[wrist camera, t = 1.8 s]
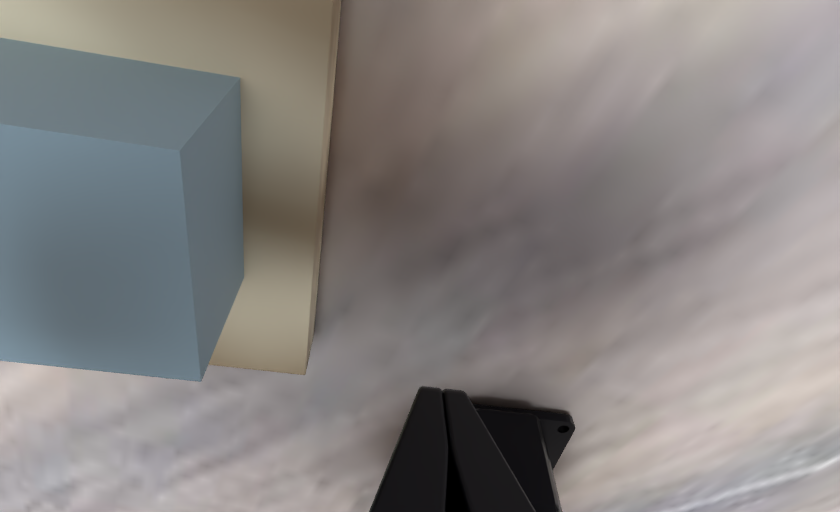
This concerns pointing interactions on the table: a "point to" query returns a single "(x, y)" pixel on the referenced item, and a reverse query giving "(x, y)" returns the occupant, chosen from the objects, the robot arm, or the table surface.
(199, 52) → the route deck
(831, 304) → the table surface
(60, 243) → the blue block
